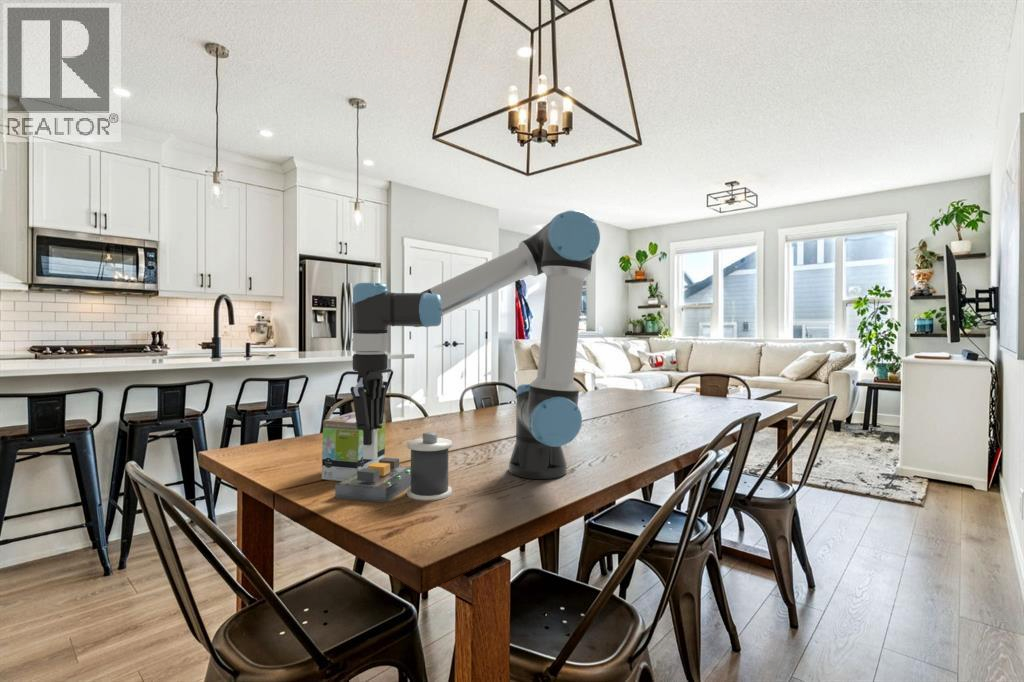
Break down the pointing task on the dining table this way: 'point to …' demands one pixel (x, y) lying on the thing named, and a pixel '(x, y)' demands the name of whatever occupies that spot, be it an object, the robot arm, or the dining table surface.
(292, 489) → the dining table surface
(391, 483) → the breaker strip
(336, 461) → the tea box
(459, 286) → the robot arm
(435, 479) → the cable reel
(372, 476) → the paddle
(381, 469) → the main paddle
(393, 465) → the paddle
